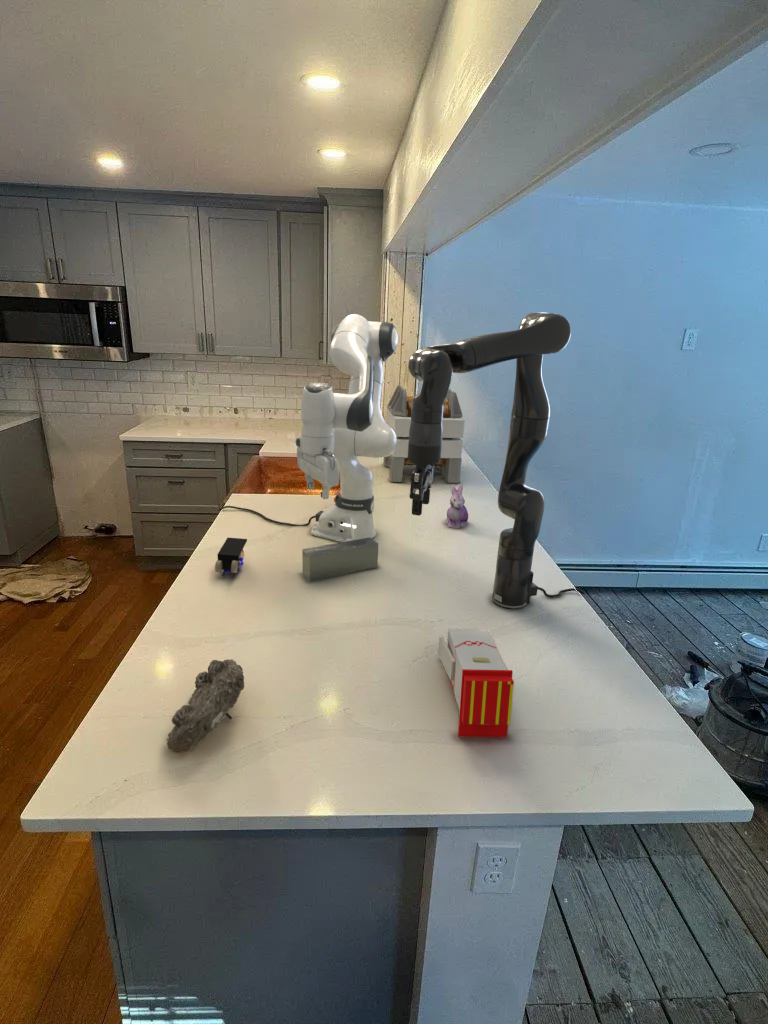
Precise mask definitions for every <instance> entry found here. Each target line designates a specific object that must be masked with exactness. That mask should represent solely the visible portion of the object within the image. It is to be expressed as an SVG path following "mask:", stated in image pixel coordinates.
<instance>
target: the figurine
mask: <svg viewBox="0 0 768 1024" xmlns="http://www.w3.org/2000/svg"><path fill="white" fill-rule="evenodd" d="M463 490H464V485H463V484H460V485H459V487H457V488H456V487H455V485H451V487H450V491H451V496H450V499H449V504H450V507H449V508H447V510H446V519H445V524H446V525H447V527H449V528H452V529H453V528H454V529H459V528H464V527H466V525H468V520H469V513H468V509H467V507H466V506H465V503H466V501H465V497H464V494H463Z"/></svg>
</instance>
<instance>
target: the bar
mask: <svg viewBox="0 0 768 1024" xmlns="http://www.w3.org/2000/svg"><path fill="white" fill-rule="evenodd" d="M301 551H302V555H301V557H302V559H301V560H302V564H301V565H302V575H303V576H304V577H305V578H306V580H307V581H309V582H314V581H320V580H325V579H329V578H333V577H338V576H344V575H348V574H353V573H358V572H362V571H367V570H372V569H377V568H378V564H379V542H377V541H376V540H374V538H372V539H371V538H370V537H369V538H363V539H358V540H352V541H347V542H336V543H330V544H325V545H320V546H314V547H308V548H302V550H301Z"/></svg>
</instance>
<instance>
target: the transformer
mask: <svg viewBox="0 0 768 1024" xmlns="http://www.w3.org/2000/svg"><path fill="white" fill-rule="evenodd" d="M407 394H408V393H407V390H406V389H404V388H403V387H402V385H399V384H398V385H397V386H396V388H395V390H394V392H393V394H392V395H391V398H390V400H389V402H388V404H387V405H386V413H385V414H386V415H385V422H386V423H387V424H388V425H389V426H390V427H391V428H392V429H393V430H394V432H395V434H396V437H397V446H396V449H395V451H394V452H393V453H392V454H391V455H390V456H388V457H383V466H384V467H388V468H389V475H388V476H389V477H388V478H389V480H390V482H391V483H402V482H403V475H404V469H405V466H406V467H407V466H411V467H412V466H413V467H416V464H414V463H411V462H409V461H408V443H409V429H410V424H411V411H412V401H413V398H414V396H415V395H414V396H413V395H412V396H411V395H407ZM442 428H443V436H442V448H441V460H440V462H439V463H438V464H435V465H434V467H436V468H437V470H438V469H439V473H440V474H441V475H443V478H444V479H445V481H446V482H447V483H449V484H455V483H456V484H459V483H461V472H462V461H463V460H462V453H463V442H464V441H463V440H462V439H463V438H464V431H465V430H464V429H465V419H464V418H463V411H462V408H461V405H460V402H459V398H458V395H457V392H455V391H453V390H452V389H451V388H449V389H448V393H447V396H446V399H445V401H444V407H443V420H442Z"/></svg>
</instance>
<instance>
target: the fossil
mask: <svg viewBox="0 0 768 1024" xmlns="http://www.w3.org/2000/svg"><path fill="white" fill-rule="evenodd" d="M243 670H244V669H243V667H242V665H240V664H237V662H236V661H235V660H234V659H232V658H231V659H227V658H226V659H224V660H223V661H222V660H217V659H212V660H211V661H210V663H209V665H208V666H207V671H201V672H199V673H198V674H197V675H196V676H195V680H194V684H195V685H194V687H195V689H194V690H193V693H192V694H191V697H190V698H189V700H188V704H184V705H182V706H181V707H180V709H177V710H176V711H175V713H174V715H173V716H172V718H171V723H172V724H173V727H172V730H171V731H170V732H168V734H167V738H166V741H167V742H166V745H167V749H168V750H169V751H173V752H174V753H176V754H178V753H182V752H188V751H189V752H192V751H193V750H195V748H196V747H197V746H199V744H200V743H201V742H203V741H204V740H205V739H206V738H207V737H208V736H209V735H210V734H211V733H212V732H214V730H215V729H217V727H218V726H219V724H220V722H221V721H222V720H223V719H224V718H225V716H226V717H227V719H229V720H233V717H232V715H230V714H229V710H230V709H231V708H234V706H235V704H236V703H237V702H238V699H239V697H240V695H241V693H242V691H243V690H245V689H244V688H245V675H244V671H243Z"/></svg>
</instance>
